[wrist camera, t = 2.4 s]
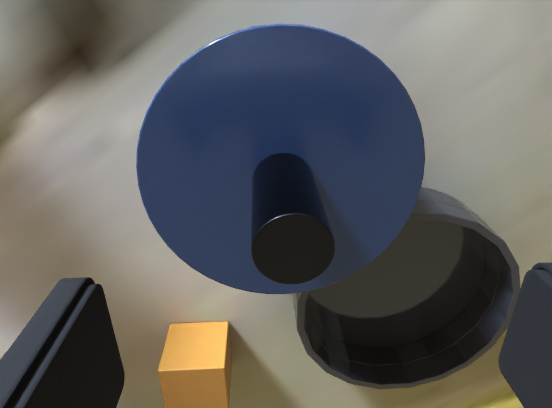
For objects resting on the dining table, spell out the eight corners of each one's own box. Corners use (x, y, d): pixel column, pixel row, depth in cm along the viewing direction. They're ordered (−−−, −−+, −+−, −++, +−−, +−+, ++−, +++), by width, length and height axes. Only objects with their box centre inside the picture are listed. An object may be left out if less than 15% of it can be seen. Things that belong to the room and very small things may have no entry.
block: (170, 323, 31) (157, 371, 27) (228, 320, 31) (224, 368, 27) (177, 364, 33) (166, 414, 29) (232, 362, 33) (229, 411, 29)
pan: (292, 189, 26) (298, 218, 23) (509, 182, 27) (548, 210, 23) (291, 351, 33) (296, 393, 29) (466, 343, 33) (491, 383, 30)
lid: (118, 25, 14) (32, 39, 9) (436, 20, 14) (545, 30, 9) (163, 284, 19) (127, 396, 14) (397, 275, 20) (452, 380, 14)
